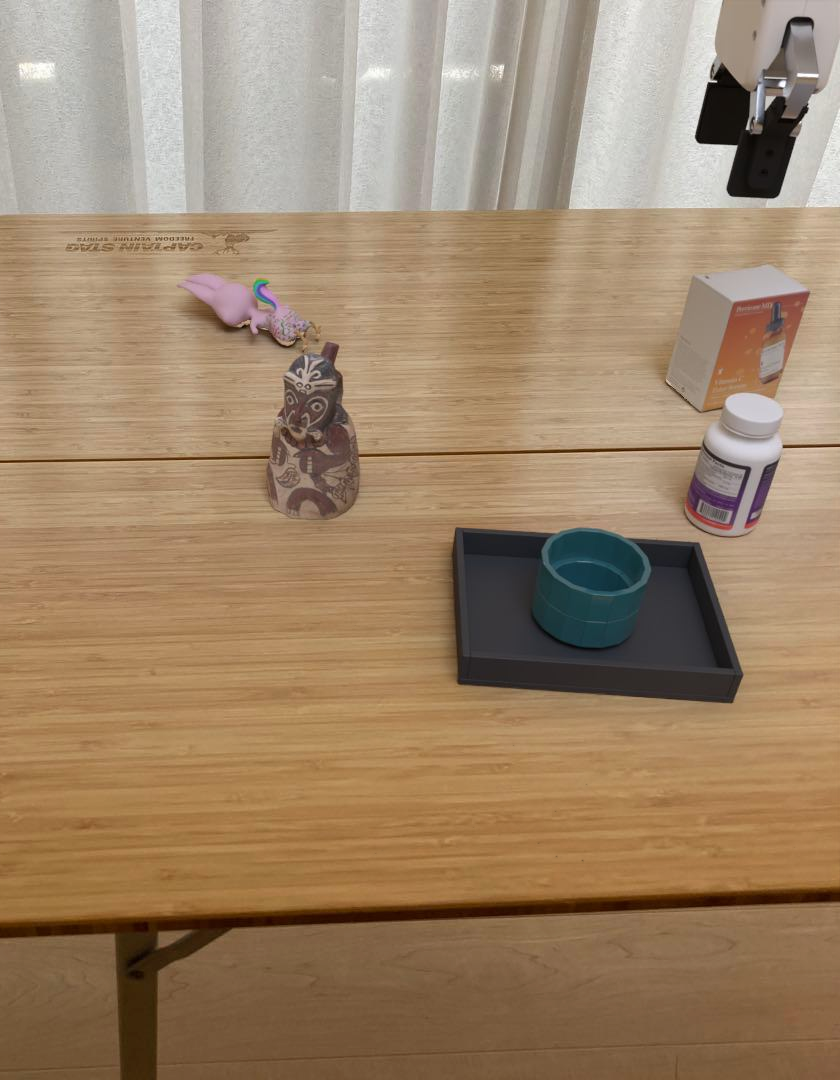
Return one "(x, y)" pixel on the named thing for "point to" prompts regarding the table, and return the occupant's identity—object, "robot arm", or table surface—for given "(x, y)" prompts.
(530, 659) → the tray
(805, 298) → the small box
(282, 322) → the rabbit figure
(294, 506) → the figurine
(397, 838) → the table surface
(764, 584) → the table surface
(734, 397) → the pill bottle
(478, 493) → the table surface
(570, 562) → the cup
